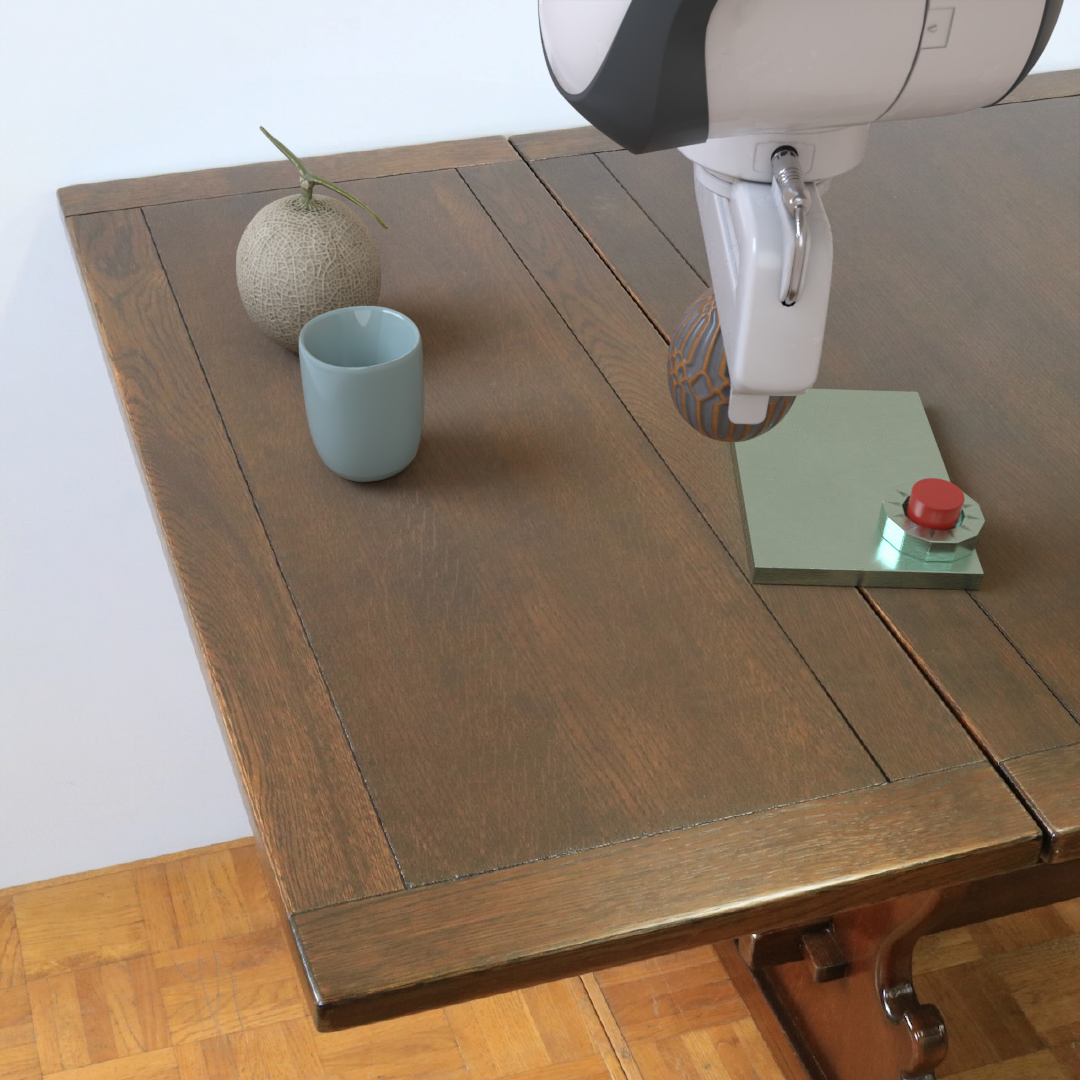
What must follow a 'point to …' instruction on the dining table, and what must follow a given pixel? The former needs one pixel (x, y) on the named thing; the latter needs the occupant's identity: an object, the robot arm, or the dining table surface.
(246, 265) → the fruit
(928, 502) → the button
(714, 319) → the vase
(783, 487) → the green metallic slab
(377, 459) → the cup
